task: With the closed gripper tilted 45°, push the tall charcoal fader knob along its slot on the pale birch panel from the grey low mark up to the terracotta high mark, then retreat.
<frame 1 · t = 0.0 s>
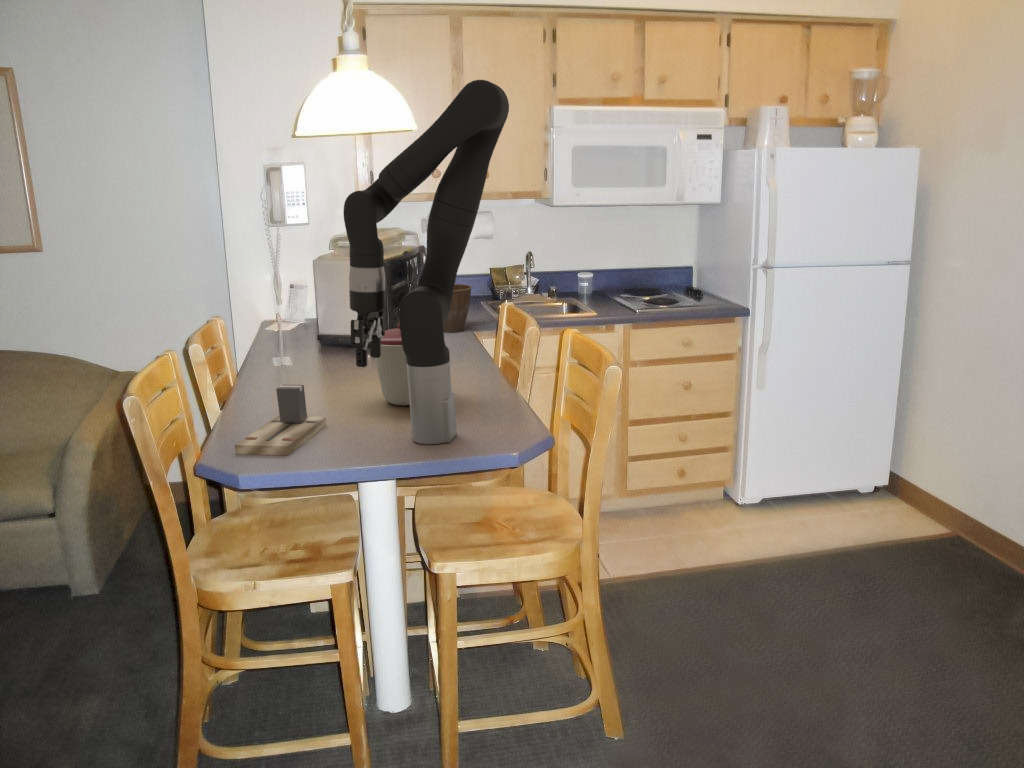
hand: (368, 361, 169), 17 cm above the table, tool pointing down, fingers open, 8 cm apart
fader knob: (292, 403, 178), point 6 cm above the table, slide at 0.0 cm
canister: (410, 401, 200), on the table
fader panel: (283, 438, 174), on the table
plant pot: (453, 331, 285), on the table
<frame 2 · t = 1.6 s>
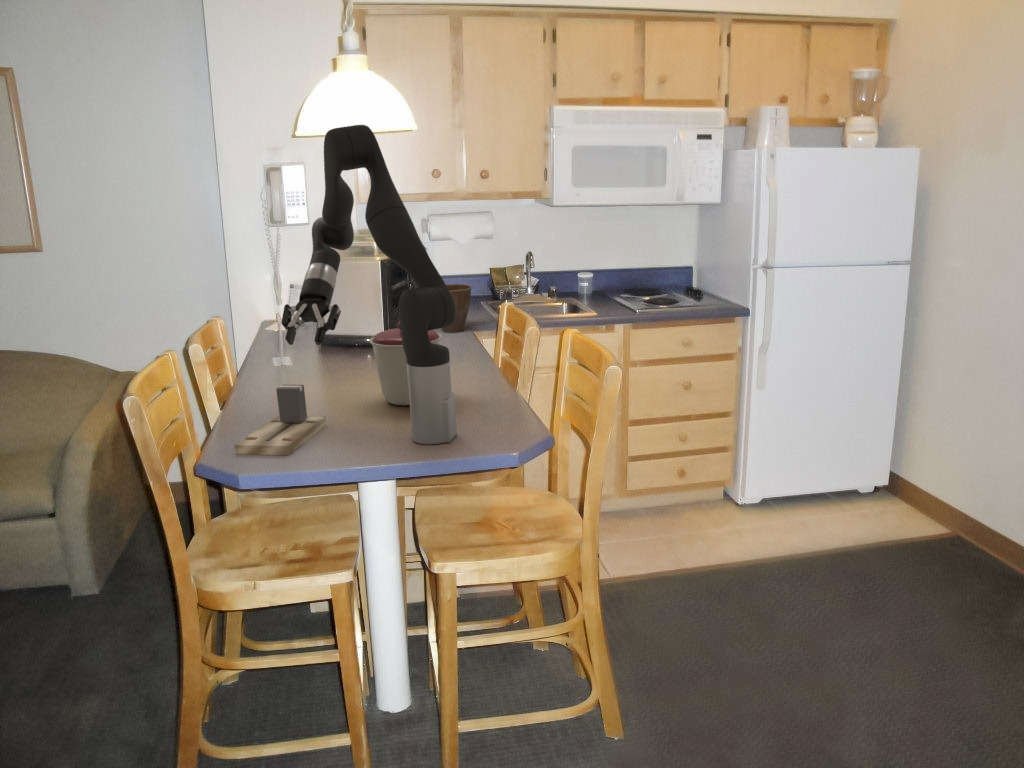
hand: (303, 343, 184), 18 cm above the table, tool tilted 45°, fingers open, 6 cm apart
nothing on the table moved.
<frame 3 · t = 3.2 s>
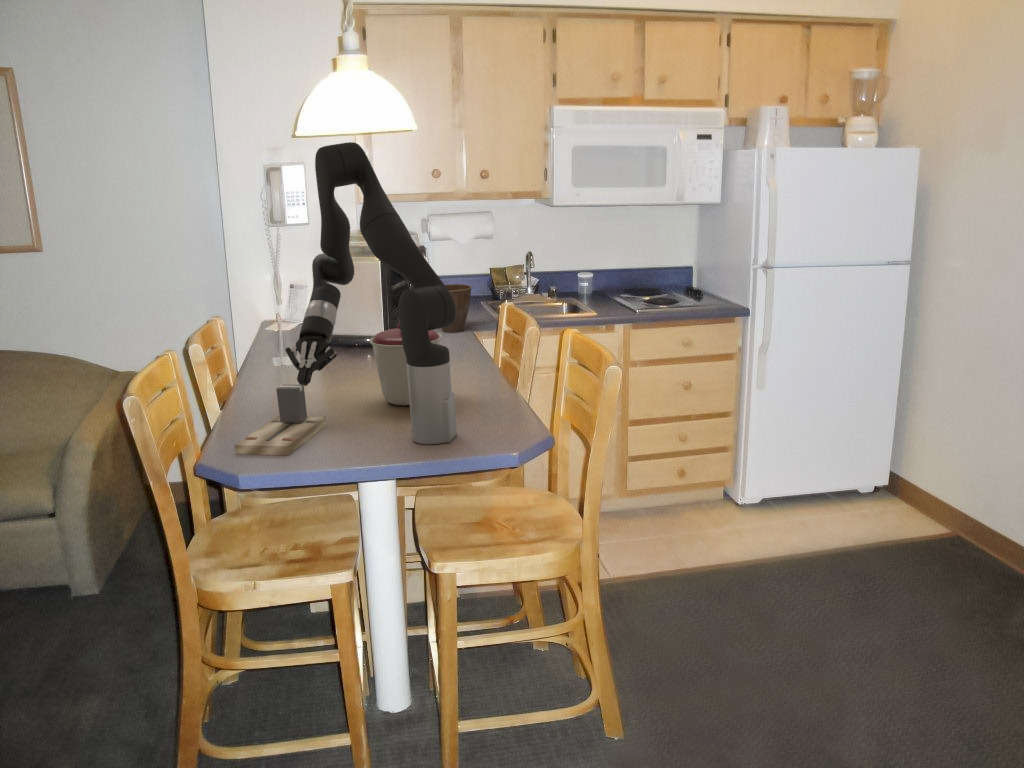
hand: (302, 384, 184), 9 cm above the table, tool tilted 45°, fingers closed
nothing on the table moved.
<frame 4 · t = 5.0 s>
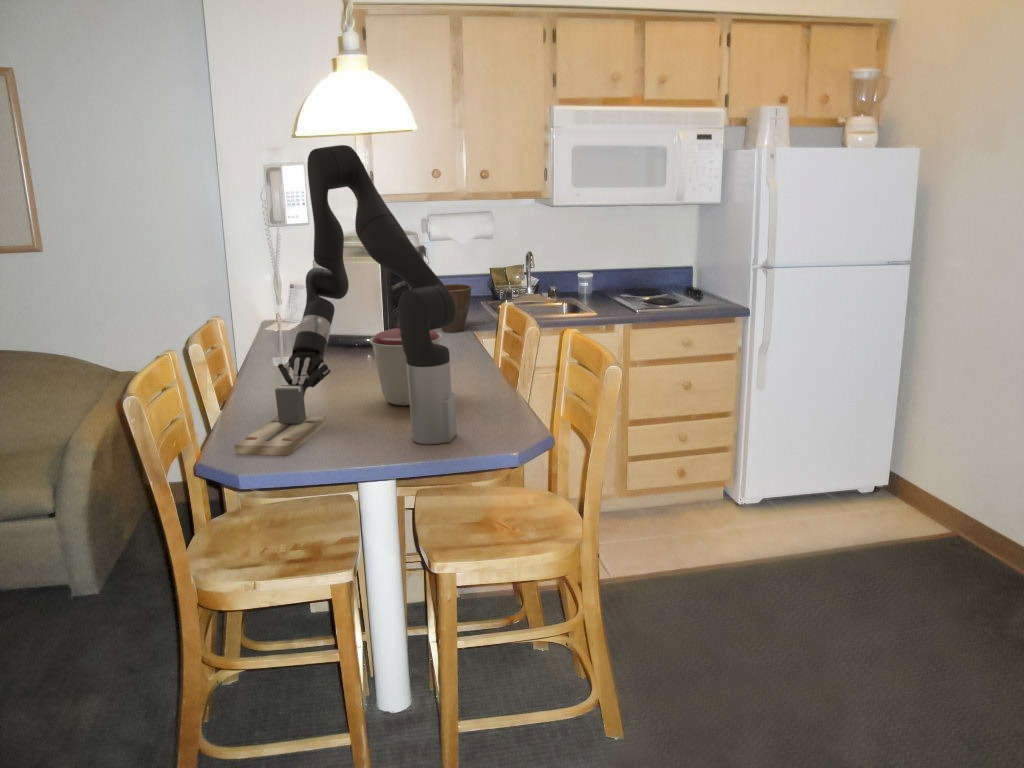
hand: (295, 401, 180), 6 cm above the table, tool tilted 45°, fingers closed
fader knob: (290, 404, 178), point 6 cm above the table, slide at 0.7 cm, touching gripper
everything else where it was.
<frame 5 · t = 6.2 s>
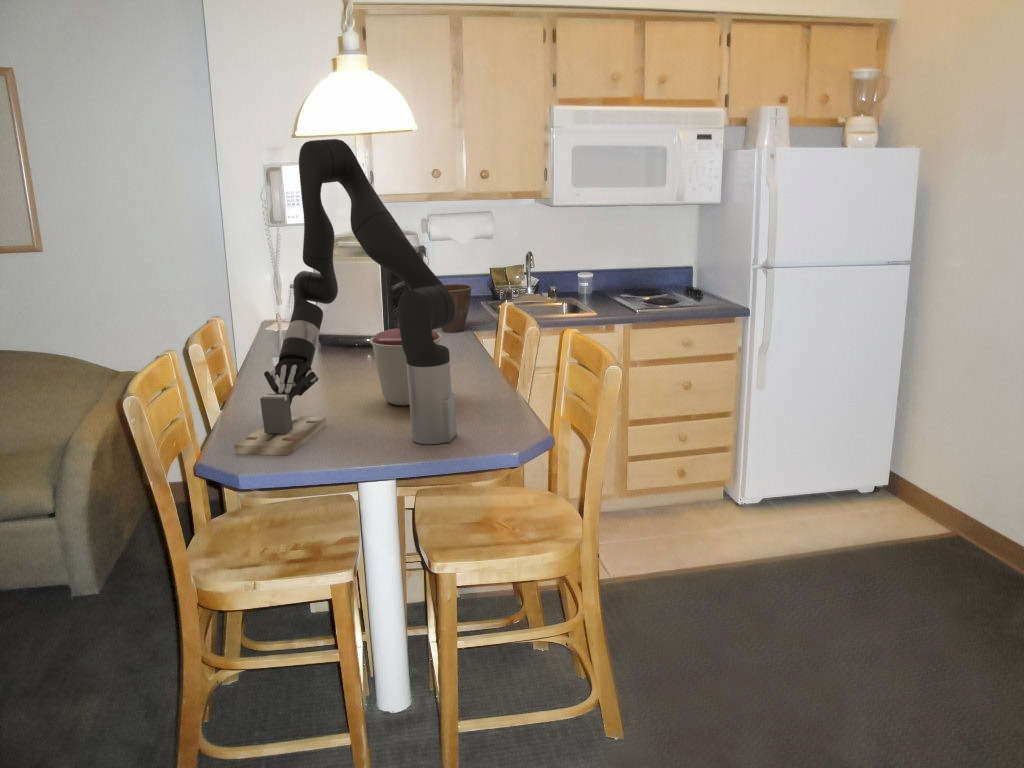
hand: (281, 410, 173), 6 cm above the table, tool tilted 45°, fingers closed
fader knob: (276, 413, 171), point 6 cm above the table, slide at 7.6 cm, touching gripper
everything else where it was.
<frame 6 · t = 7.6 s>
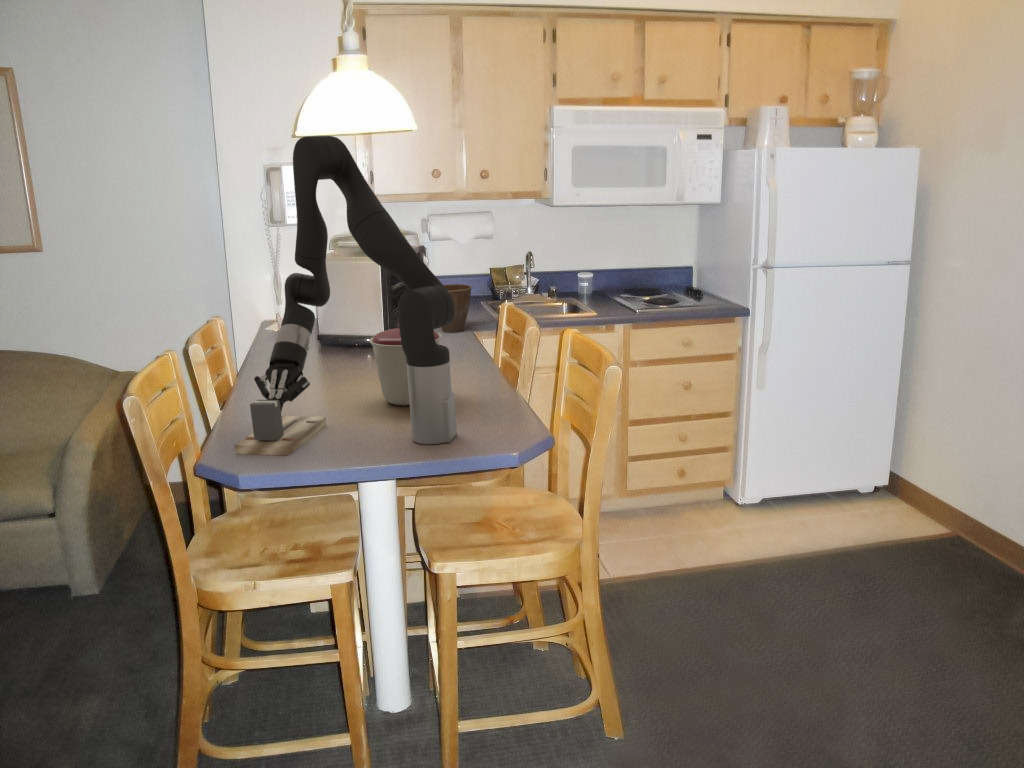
hand: (272, 416, 169), 6 cm above the table, tool tilted 45°, fingers closed
fader knob: (266, 419, 167), point 6 cm above the table, slide at 12.1 cm, touching gripper
everything else where it was.
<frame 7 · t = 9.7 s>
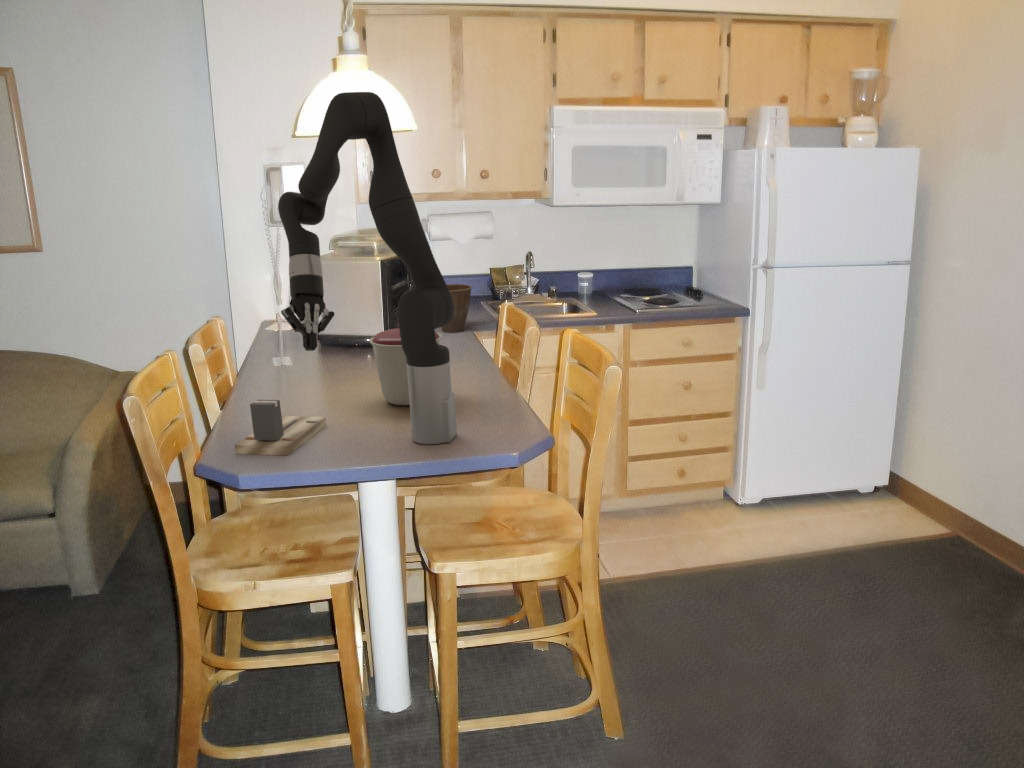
hand: (310, 350, 179), 18 cm above the table, tool tilted 20°, fingers closed
fader knob: (267, 419, 167), point 6 cm above the table, slide at 12.0 cm
everything else where it was.
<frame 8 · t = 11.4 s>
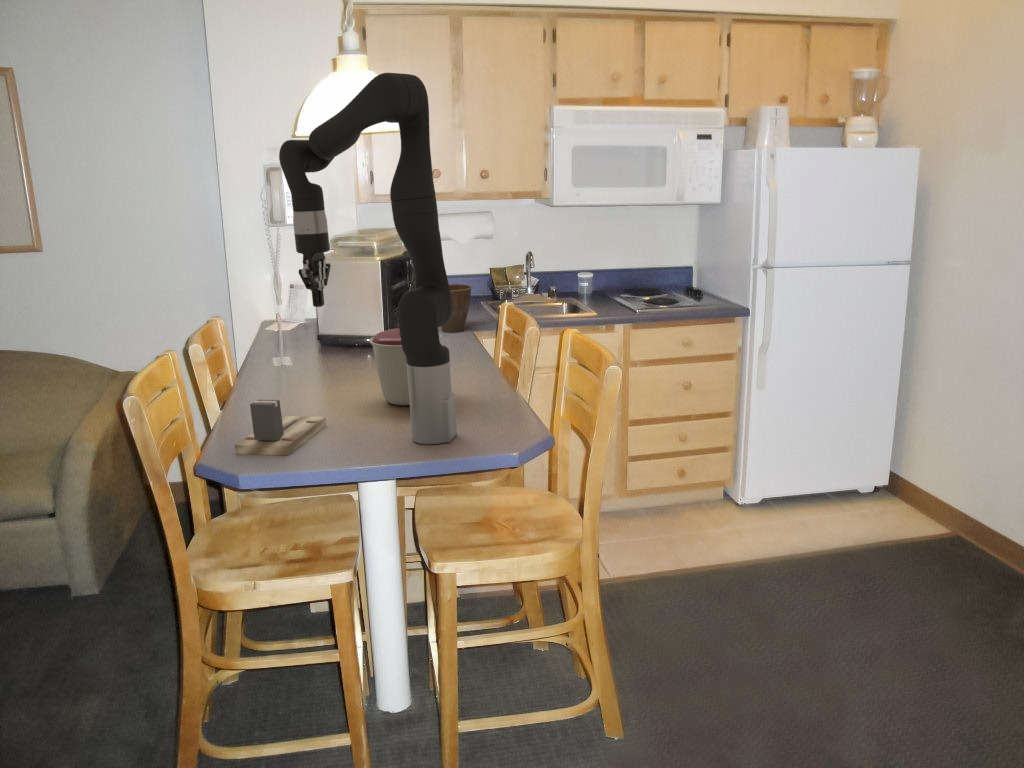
hand: (318, 306, 182), 27 cm above the table, tool pointing down, fingers closed
nothing on the table moved.
at the end: fader knob slide at 12.0 cm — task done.
